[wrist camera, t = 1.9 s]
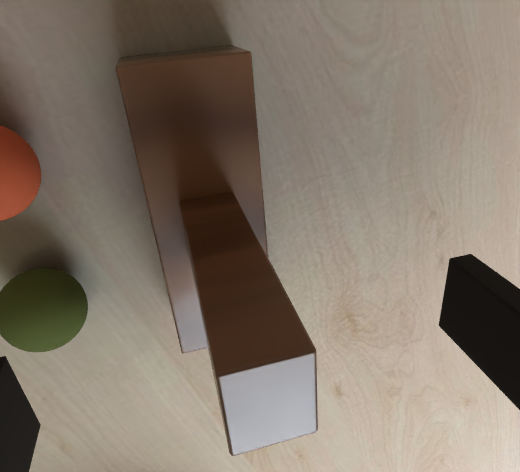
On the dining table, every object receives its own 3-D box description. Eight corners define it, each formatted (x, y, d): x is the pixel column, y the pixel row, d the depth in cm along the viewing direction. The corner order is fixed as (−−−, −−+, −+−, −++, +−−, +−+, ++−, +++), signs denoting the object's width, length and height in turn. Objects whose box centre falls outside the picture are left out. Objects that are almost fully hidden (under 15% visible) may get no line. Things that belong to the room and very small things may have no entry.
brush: (119, 57, 18) (82, 139, 6) (233, 44, 19) (385, 96, 7) (176, 312, 25) (210, 576, 13) (258, 294, 26) (357, 527, 14)
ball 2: (-6, 261, 21) (-35, 311, 17) (79, 246, 21) (67, 290, 18) (23, 323, 22) (2, 379, 19) (100, 307, 23) (93, 358, 20)
